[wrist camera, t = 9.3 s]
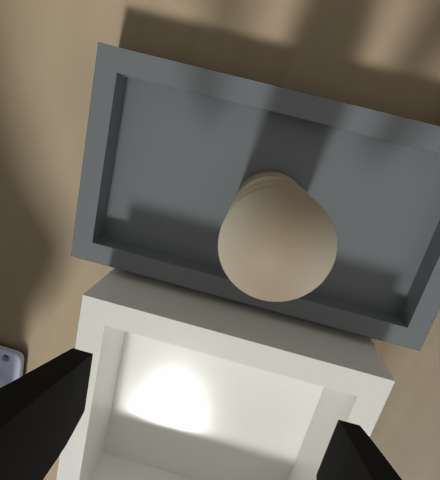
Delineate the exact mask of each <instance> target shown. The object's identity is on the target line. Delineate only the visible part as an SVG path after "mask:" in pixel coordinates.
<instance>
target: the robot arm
mask: <svg viewBox="0 0 440 480" xmlns="http://www.w3.org/2000/svg"><path fill="white" fill-rule="evenodd" d="M6 355H7V356H8V357H9V358H8V357H7V356H6ZM92 357H93V354H92V353H89V352H85V351H81V350H78V349H74V348H73V349H71V350H69V351H67V352H65V353H63V354H61V355H60V356H58V357H56V358H54V359H52V360H51V361H49V362H47V363H45V364H43V365H42V366H40V367H38V368H36V369H34V370H33V371H31V372H29V373H27V374H25V375H23V368H24V356H23V354H22V353H21V352H20V351H17V350H14V349H10V348H7V347H3V346H0V480H43V479H44V477H45V476H46V474H47V473H48V471H49V470H50V468H51V467H52V465H53V464H54V462H55V461H56V460H57V458H58V457H59V455H60V454H61V452H62V451H63V449H64V448H65V446H66V444H67V443H68V441H69V439H70V437H71V435H72V434H73V432H74V430H75V428H76V426H77V424H78V422H79V420H80V419H81V417H82V415H83V413H84V411H85V404H86V398H87V391H88V384H89V378H90V371H91V364H92ZM316 477H317V480H402V479H401V478H400V477H399V475H398V474H397V473H396V471H395V470H394V469H393V468H392V466H391V465H390V464H389V462H388V461H387V460H386V458H385V457H384V456H383V454H382V453H381V452H380V450H379V449H378V448H377V446H376V445H375V444H374V443H373V441H372V440H371V439H370V437H369V436H368V435H367V434H366V432H365V431H364V430H363V429H362V427H361V426H360V425H357V424H353V423H349V422H345V421H342V420H338V422H337V424H336V427H335V429H334V432H333V434H332V437H331V439H330V442H329V444H328V447H327V449H326V452H325V454H324V457H323V459H322V462H321V464H320V467H319V469H318V472H317V474H316Z"/></svg>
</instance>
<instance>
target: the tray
mask: <svg viewBox="0 0 440 480" xmlns="http://www.w3.org/2000/svg"><path fill="white" fill-rule="evenodd" d="M262 170H277V171H280V172H283V173H285V174H287V175H288V176H289V177H291V178H292V179H293V180H294V181H295V182H296V183H297V184H298V185H299V186H300V187H301V188H303V189H304V190H305V191H306V192H307V193H308V194H309V195H310V196H311V197H312V198H313V199H314V200H316V201H317V202H318V203H319V204H320V205H321V206H322V207H323V208H324V210H325V211H326V212H327V213H328V215H329V217H330V218H331V220H332V222H333V225H334V227H335V231H336V236H337V253H336V258H335V262H334V264H333V267H332V269H331V271H330V272H329V274H328V276H327V277H326V278H325V280H324V281H323V282H322V283H321V284H320V285H319V286H318V287H317V288H315V289H314V290H313V291H311V292H310V293H308V294H306V295H304V296H302V297H300V298H297V299H294V300H290V301H283V302H271V301H264V300H260V299H257V298H254V297H252V296H250V295H248V294H246V293H244V292H243V291H241V290H240V289H239V288H238V287H236V286H235V285H234V284H233V283H232V282H231V281H230V279H229V278H228V276H227V275H226V273H225V272H224V270H223V268H222V265H221V262H220V259H219V254H218V238H219V232H220V229H221V226H222V224H223V222H224V220H225V218H226V215H227V213H228V211H229V209H230V207H231V205H232V203H233V201H234V199H235V197H236V195H237V192H238V190H239V188H240V186H241V185H242V183H243V182H244V181H245V180H246V179H247V178H248V177H249V176H251V175H252V174H254V173H256V172H259V171H262ZM71 256H73V257H77V258H81V259H84V260H88V261H92V262H95V263H99V264H103V265H106V266H110V267H114V268H117V269H121V270H125V271H128V272H132V273H136V274H139V275H143V276H147V277H150V278H154V279H158V280H161V281H165V282H169V283H172V284H176V285H180V286H183V287H187V288H191V289H194V290H198V291H202V292H205V293H209V294H213V295H216V296H220V297H224V298H227V299H231V300H235V301H239V302H242V303H246V304H250V305H253V306H257V307H261V308H264V309H268V310H272V311H275V312H279V313H283V314H286V315H290V316H294V317H297V318H301V319H305V320H308V321H312V322H316V323H319V324H323V325H327V326H330V327H334V328H338V329H341V330H345V331H349V332H352V333H356V334H360V335H363V336H367V337H371V338H374V339H378V340H382V341H385V342H389V343H393V344H396V345H400V346H404V347H407V348H411V349H415V350H418V351H420V350H421V348H422V345H423V343H424V341H425V339H426V337H427V335H428V333H429V330H430V328H431V326H432V324H433V322H434V320H435V318H436V315H437V313H438V311H439V309H440V126H437V125H433V124H429V123H425V122H421V121H417V120H413V119H409V118H404V117H400V116H396V115H392V114H388V113H384V112H380V111H376V110H372V109H368V108H364V107H360V106H356V105H351V104H347V103H343V102H339V101H335V100H331V99H327V98H323V97H319V96H315V95H311V94H307V93H303V92H298V91H294V90H290V89H286V88H282V87H278V86H274V85H270V84H266V83H262V82H258V81H254V80H250V79H246V78H241V77H237V76H233V75H229V74H225V73H221V72H217V71H213V70H209V69H205V68H201V67H197V66H193V65H188V64H184V63H180V62H176V61H172V60H168V59H164V58H160V57H156V56H152V55H148V54H144V53H140V52H135V51H131V50H127V49H123V48H119V47H115V46H111V45H107V44H103V43H99V42H98V48H97V56H96V64H95V72H94V80H93V87H92V95H91V103H90V111H89V119H88V127H87V134H86V142H85V150H84V158H83V166H82V173H81V181H80V189H79V197H78V205H77V212H76V220H75V228H74V236H73V244H72V251H71Z"/></svg>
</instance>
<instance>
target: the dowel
mask: <svg viewBox="0 0 440 480" xmlns="http://www.w3.org/2000/svg"><path fill="white" fill-rule="evenodd" d="M336 253H337V236H336V231H335V227H334V225H333V222H332V220H331V218H330V217H329V215H328V213H327V212H326V211H325V210H324V208H323V207H322V206H321V205H320V204H319V203H318V202H317V201H316V200H314V199H313V198H312V197H311V196H310V195H309V194H308V193H307V192H306V191H305V190H304V189H303V188H301V187H300V186H299V185H298V184H297V183H296V182H295V181H294V180H293V179H292V178H291V177H289V176H288V175H287V174H285V173H283V172H280V171H277V170H262V171H259V172H256V173H254V174H252V175H251V176H249V177H248V178H247V179H246V180H245V181H244V182H243V183H242V185H241V186H240V188H239V190H238V192H237V195H236V197H235V199H234V201H233V203H232V205H231V207H230V209H229V211H228V213H227V215H226V218H225V220H224V222H223V224H222V226H221V229H220V232H219V238H218V254H219V259H220V262H221V265H222V268H223V270H224V272H225V273H226V275H227V276H228V278H229V279H230V281H231V282H232V283H233V284H234V285H235V286H236V287H238V288H239V289H240V290H241V291H243V292H244V293H246V294H248V295H250V296H252V297H254V298H257V299H260V300H264V301H271V302H283V301H290V300H294V299H297V298H300V297H302V296H304V295H306V294H308V293H310V292H311V291H313V290H314V289H315V288H317V287H318V286H319V285H320V284H321V283H322V282H323V281H324V280H325V278H326V277H327V276H328V274H329V272H330V271H331V269H332V267H333V264H334V262H335V258H336Z"/></svg>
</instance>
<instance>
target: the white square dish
mask: <svg viewBox="0 0 440 480" xmlns="http://www.w3.org/2000/svg"><path fill="white" fill-rule="evenodd" d="M75 349H78V350H81V351H85V352H89V353H92V354H93V357H92V364H91V371H90V378H89V384H88V391H87V398H86V404H85V411H84V413H83V415H82V417H81V419H80V420H79V422H78V424H77V426H76V428H75V430H74V432H73V434H72V435H71V437H70V439H69V441H68V443H67V444H66V446H65V448H64V449H63V451H62V452H61V454H60V459H59V466H58V472H57V479H56V480H317V477H316V474H317V472H318V469H319V467H320V464H321V462H322V459H323V457H324V454H325V452H326V449H327V447H328V444H329V442H330V439H331V437H332V434H333V432H334V429H335V427H336V424H337V422H338V420H342V421H345V422H349V423H353V424H357V425H360V426H361V427H362V429H363V430H364V431H365V432H366V434H367V435H368V436H369V437H370V435H371V433H372V431H373V428H374V426H375V424H376V422H377V420H378V418H379V415H380V413H381V411H382V409H383V407H384V404H385V402H386V400H387V398H388V396H389V393H390V391H391V389H392V387H393V385H394V383H395V380H394V379H393V377H392V375H391V373H390V372H389V370H388V368H387V367H386V365H385V363H384V361H383V360H382V358H381V356H380V355H379V353H378V351H377V349H376V348H375V346H374V344H373V343H372V341H371V339H370V337H367V336H363V335H360V334H356V333H352V332H349V331H345V330H341V329H338V328H334V327H330V326H327V325H323V324H319V323H316V322H312V321H308V320H305V319H301V318H297V317H294V316H290V315H286V314H283V313H279V312H275V311H272V310H268V309H264V308H261V307H257V306H253V305H250V304H246V303H242V302H239V301H235V300H231V299H227V298H224V297H220V296H216V295H213V294H209V293H205V292H202V291H198V290H194V289H191V288H187V287H183V286H180V285H176V284H172V283H169V282H165V281H161V280H158V279H154V278H150V277H147V276H143V275H139V274H136V273H132V272H128V271H125V270H121V269H117V268H115V269H113V270H112V271H111V272H110V273H109V274H107V275H106V276H105V277H104V278H103V279H101V280H100V281H99V282H98V283H97V284H95V285H94V286H93V287H92V288H91V289H89V290H88V291H87V292H86V293H85V294H83V298H82V305H81V312H80V319H79V326H78V333H77V340H76V347H75Z"/></svg>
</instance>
